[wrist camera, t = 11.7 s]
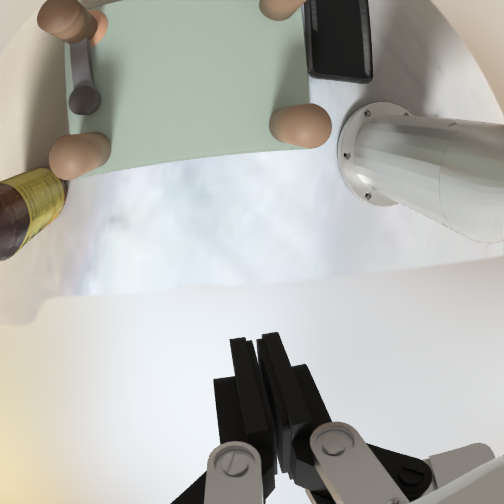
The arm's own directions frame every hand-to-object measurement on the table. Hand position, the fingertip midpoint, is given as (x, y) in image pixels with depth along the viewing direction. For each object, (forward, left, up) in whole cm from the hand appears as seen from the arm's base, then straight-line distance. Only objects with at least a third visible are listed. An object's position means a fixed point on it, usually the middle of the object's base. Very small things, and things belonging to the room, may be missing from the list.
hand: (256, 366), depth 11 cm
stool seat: (+2, -14, -25) cm, 29 cm away
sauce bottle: (+19, -4, -25) cm, 32 cm away
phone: (-15, -20, -26) cm, 36 cm away
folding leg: (+12, -17, -22) cm, 30 cm away
